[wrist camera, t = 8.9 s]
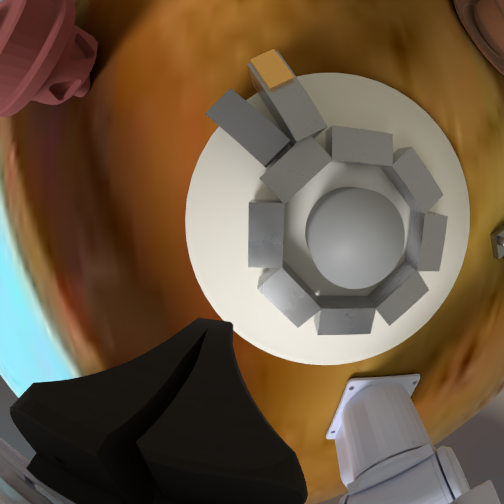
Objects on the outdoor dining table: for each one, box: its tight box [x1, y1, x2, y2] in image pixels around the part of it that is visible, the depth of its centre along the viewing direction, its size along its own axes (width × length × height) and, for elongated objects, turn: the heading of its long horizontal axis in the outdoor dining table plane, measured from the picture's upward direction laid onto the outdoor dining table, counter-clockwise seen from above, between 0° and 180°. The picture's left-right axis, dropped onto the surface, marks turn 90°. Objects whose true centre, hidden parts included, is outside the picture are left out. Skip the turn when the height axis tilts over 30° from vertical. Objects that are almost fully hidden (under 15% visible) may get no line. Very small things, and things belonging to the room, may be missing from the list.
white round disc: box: [185, 73, 470, 365], centre depth 16 cm, size 22×22×4 cm
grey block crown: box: [247, 49, 448, 335], centre depth 15 cm, size 13×17×4 cm
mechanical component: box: [0, 0, 98, 117], centre depth 10 cm, size 12×10×10 cm
